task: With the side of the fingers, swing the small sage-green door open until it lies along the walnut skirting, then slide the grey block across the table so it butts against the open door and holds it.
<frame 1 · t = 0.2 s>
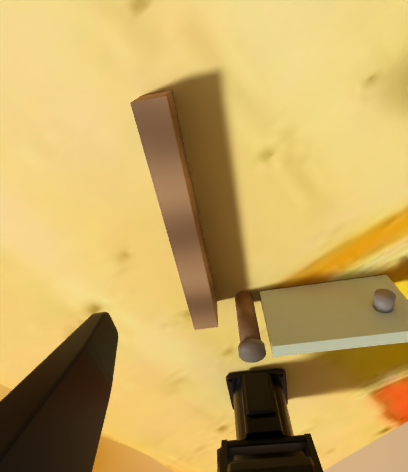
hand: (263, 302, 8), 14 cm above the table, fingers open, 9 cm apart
door: (334, 307, 24), point 3 cm above the table, hinge at 0.0°
skirting: (186, 218, 23), on the table
hinge post: (243, 298, 28), on the table
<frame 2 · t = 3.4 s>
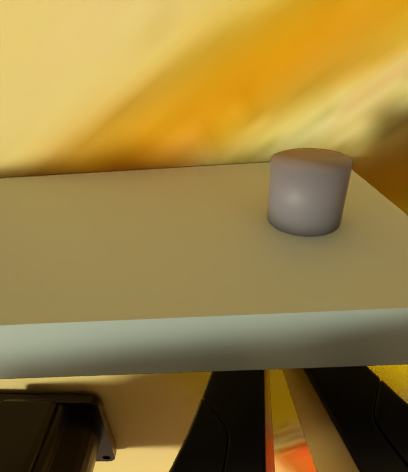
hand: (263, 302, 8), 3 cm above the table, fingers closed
door: (135, 215, 7), point 3 cm above the table, hinge at 4.2°, touching gripper
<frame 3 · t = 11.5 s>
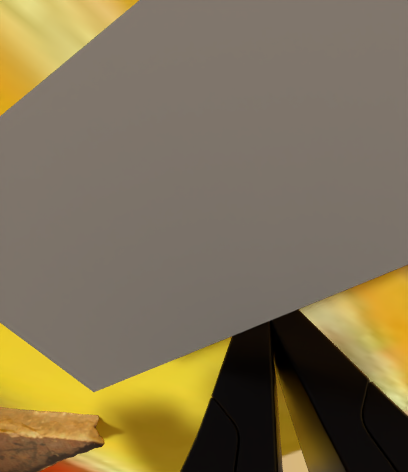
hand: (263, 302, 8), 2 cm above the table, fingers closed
grey block: (222, 130, 8), on the table
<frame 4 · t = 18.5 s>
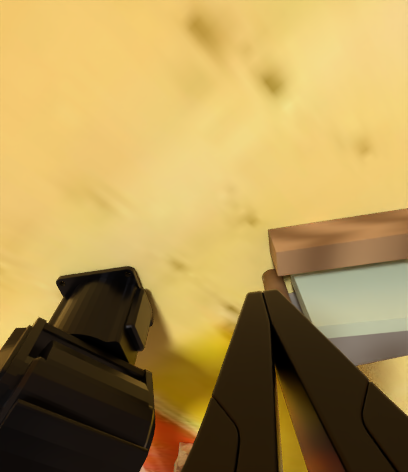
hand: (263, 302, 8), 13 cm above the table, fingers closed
door: (380, 285, 21), point 3 cm above the table, hinge at 88.5°
grey block: (321, 305, 26), on the table
shard: (214, 446, 40), on the table
skirting: (393, 222, 22), on the table
hinge post: (272, 277, 24), on the table
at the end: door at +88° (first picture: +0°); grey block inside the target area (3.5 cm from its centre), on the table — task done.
